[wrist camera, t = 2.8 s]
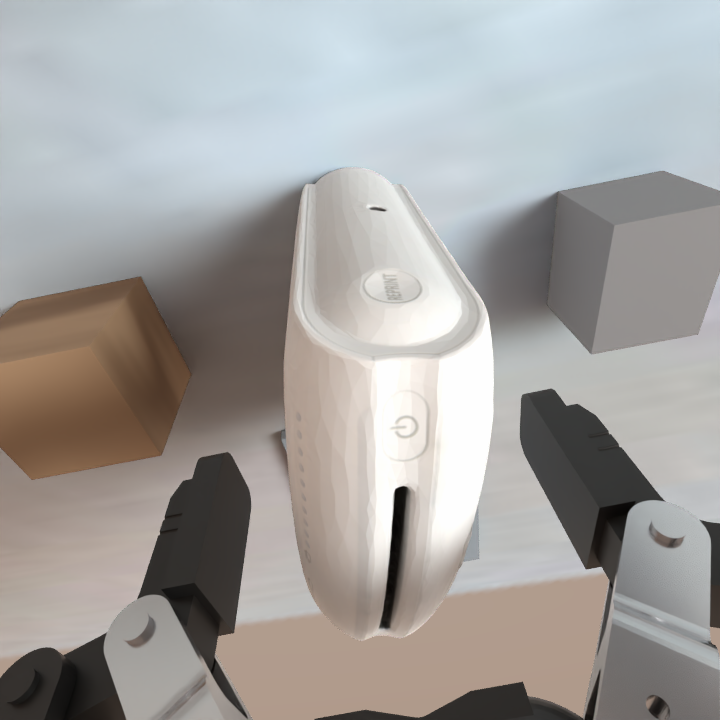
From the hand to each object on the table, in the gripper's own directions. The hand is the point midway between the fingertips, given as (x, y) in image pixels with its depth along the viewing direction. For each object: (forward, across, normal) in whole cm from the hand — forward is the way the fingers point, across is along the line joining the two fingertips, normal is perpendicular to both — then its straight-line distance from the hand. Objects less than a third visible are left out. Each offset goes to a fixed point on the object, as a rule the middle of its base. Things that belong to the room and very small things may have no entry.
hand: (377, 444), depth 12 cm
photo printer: (+8, 0, -1) cm, 9 cm away
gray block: (+8, -10, 0) cm, 13 cm away
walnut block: (+8, +10, -1) cm, 13 cm away
